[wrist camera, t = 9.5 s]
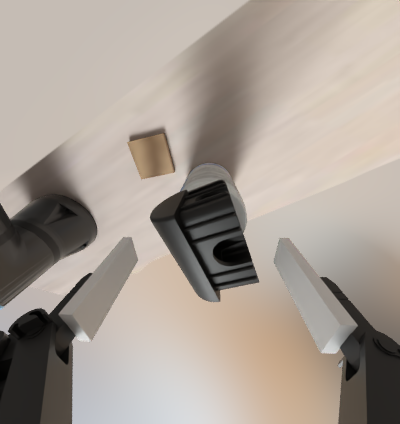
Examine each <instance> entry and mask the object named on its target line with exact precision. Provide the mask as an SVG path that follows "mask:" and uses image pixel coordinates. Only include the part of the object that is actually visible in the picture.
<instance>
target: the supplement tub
mask: <svg viewBox="0 0 400 424" xmlns="http://www.w3.org/2000/svg"><path fill="white" fill-rule="evenodd" d="M221 179H222V180H224V181H225V182H226V185H227V188H228V190H229V193H230V196H231V199H232V202H233V205H234V208H235V211H236V214H237V217H238V220H239V223H240V226H241V229H242V232H244V230H245V227H246V223H247V214H246V209H245V205H244V202H243V200H242V198H241V196H240V194H239V192H238V190H237V188H236V186H235V184H234V182H233V180H232V178H231V176H230V174H229V173H228V171H227V170H226V169H225V168H224V167H222V166H220V165H218V164H215V163H204V164H201V165H199V166H197V167H195V168H194V169H193V170H192V171H191V172H190V174H189V175H188V177H187V179H186V181H185V183H184V185H183V187H182V189H181V191H183V190H187V191H190V190H193V189H196V188H198V187H201V186H204V185H206V184H209V183H211V182H214V181H217V180H221ZM181 191H180V192H181Z"/></svg>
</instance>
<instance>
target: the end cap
mask: <svg viewBox="0 0 400 424" xmlns="http://www.w3.org/2000/svg"><path fill="white" fill-rule="evenodd" d="M150 219H151V222H152V223H153V225H154V226H155V228H156V230H157V231H158V233H159V234H160V236H161V238H162V239H163V241H164V242H165V244H166V246H167V247H168V249H169V250H170V252H171V254H172V255H173V257H174V258H175V260H176V262H177V263H178V265H179V266H180V268H181V270H182V271H183V273H184V274H185V276H186V277H187V279H188V281H189V282H190V284H191V285H192V287H193V289H194V290H195V292H196V293H197V294H198V296H199V297H201V298H202V299H204V300H206V301H210V302H220V290H223V289H228V288H233V287H238V286H243V285H248V284H253V283H258V282H259V280H258V277H257V274H256V271H255V268H254V265H253V263H252V259H251V256H250V253H249V250H248V247H247V244H246V240H245V238H244V235H243V232H242V229H241V226H240V223H239V220H238V217H237V214H236V211H235V208H234V205H233V202H232V199H231V196H230V193H229V190H228V188H227V185H226V182H225V181H224V180H222V179H221V180H217V181H214V182H211V183H209V184H206V185H204V186H201V187H198V188H196V189H193V190H190V191H187V190H183V191H181V192H179V193H177V194H175V195H173V196H171V197H169V198H168V199H166V200H164V201H163V202H162V203H160V204H159V205H158V206H157V207H156V208H155V209H154V210H153V211H152V213H151V215H150Z"/></svg>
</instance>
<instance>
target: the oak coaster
mask: <svg viewBox="0 0 400 424" xmlns="http://www.w3.org/2000/svg"><path fill="white" fill-rule="evenodd" d="M127 143H128V146H129V148H130V151H131V154H132V156H133V159H134V161H135V164H136V167H137V169H138V172H139V174H140V177H141V179H145V178H150V177H155V176H160V175H165V174H169V173H174V172H175V169H174V166H173V162H172V159H171V155H170V152H169V148H168V144H167V141H166V137H165V134H164V133H162V134H158V135H154V136H150V137H146V138H142V139H138V140H134V141H130V142H127Z"/></svg>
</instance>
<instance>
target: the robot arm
mask: <svg viewBox="0 0 400 424" xmlns="http://www.w3.org/2000/svg"><path fill="white" fill-rule="evenodd" d="M96 236H97V228H96V224H95V222H94V220H93V218H92V216H91V215H90V214H89V213H88V211H87V210H86V209H85V208H83V207H82V206H81V205H80V204H78V203H77V202H75V201H73V200H72V199H69V198H67V197H64V196H60V195H47V196H44V197H41V198H38V199H35V200H34V201H32V202H30V203H29V204H28V205H27V206H26V207H24V208H23V209H22V210H21V211H19V212H18V213H17V214H16V215H15V216H13V217H12V218H11V219H9V217H8V216H7V214H6V212H5V211H4V209H3V207H2V205H1V204H0V310H1V309H2V308H3V307H4V306H5V305H6V304H7V303H9V302H10V301H11V300H12V299H13V298H15V297H16V296H17V295H18V294H19V293H21V292H22V291H23V290H24V289H25V288H27V287H28V286H29V285H30V284H31V283H33V282H34V281H35V280H36V279H37V278H39V277H40V276H41V275H42V274H43V273H45V272H46V271H47V270H48V269H49V268H51V267H52V266H53V265H54V264H55V263H57V262H58V261H59V260H61V259H63V258H65V257H68V256H70V255H72V254H74V253H77V252H79V251H81V250H83V249H85V248H86V247H88V246H89V245H90V244H91V243H92V242H93V241H94V240H95V238H96ZM137 261H138V258H137V255H136V251H135V248H134V244H133V241H132V238H131V237H123V238H122V240H121V241H120V242H119V243H118V244H117V245H116V247H115V248H114V249H113V250H112V251H111V253H110V254H109V255H108V256H107V257H106V258H105V260H104V261H103V262H102V263H101V264H100V266H99V267H98V268H97V269H96V270H95V271H94V273H89V274H87V275H86V276H85V277H83V278H82V279H81V280H80V281H79V282H78V283H77V284H76V285H75V287H73V289H72V290H71V291H70V293H68V294H67V295H66V296H65V298H64V299H63V300H62V301H61V302H60V303H59V304H58V305H57V306H56V308H55V309H54V310H53V311H52V312H51V313H50V314H49V315H48V314H47V312H46V311H45V310H43V309H41V308H40V309H34V310H32V311H29V312H27V313H26V314H24V315H23V316H21V317H20V318H18V319H17V320H16V321H15V322H14V323H13V324H12V325H11V327H10V328H9V330H8V332H9V333H10V335H7V334H5V333H4V332H3V331H0V424H72V366H73V365H72V363H73V362H72V361H73V358H72V357H73V346H72V340H73V339H74V337H75V336H76V337H77V339H78V340H79V341H92V340H93V338H94V336H95V334H96V333H97V331H98V329H99V327H100V326H101V324H102V322H103V320H104V319H105V317H106V315H107V313H108V312H109V310H110V308H111V306H112V305H113V303H114V301H115V299H116V298H117V296H118V294H119V292H120V291H121V289H122V287H123V286H124V284H125V282H126V280H127V279H128V277H129V275H130V273H131V272H132V270H133V268H134V266H135V265H136V263H137ZM274 264H275V265H276V267H277V269H278V271H279V273H280V275H281V277H282V279H283V281H284V283H285V285H286V287H287V289H288V291H289V293H290V294H291V296H292V298H293V300H294V302H295V304H296V306H297V308H298V310H299V312H300V314H301V316H302V318H303V319H304V322H305V323H306V325H307V327H308V329H309V331H310V333H311V335H312V337H313V338H314V341H315V343H316V345H317V347H318V348H319V350H320V352H321V353H334V354H335V353H337V351H338V350H339V349H341V350H342V352H343V354H344V355H345V356H344V357H343V359H342V360H341V361H340V362H339V364H338V367H340V368H341V366H342V365H343V367H342V382H341V395H340V409H339V423H338V424H400V345H398V344H397V343H396V342H395V341H394V340H393V339H391V338H390V337H388V336H387V335H385V334H383V333H381V332H378V331H376V330H375V329H374V328H373V327H372V326H371V325H370V324H369V323H368V321H367V320H366V319H365V318H364V317H363V315H362V314H361V313H360V312H359V311H358V310H357V308H356V307H355V306H354V305H353V304H352V303H351V301H349V300H348V298H347V297H346V296H345V295H344V294H343V293H342V291H341V290H340V289H339V288H338V286H337V285H336V284H335V283H333V282H332V281H331V280H329V279H328V278H327V277H319V276H318V274H317V273H316V272H315V271H314V269H313V268H312V267H311V266H310V264H309V263H308V262H307V260H306V259H305V258H304V257H303V255H302V254H301V253H300V252H299V250H298V249H297V248H296V247H295V245H294V244H293V243H292V241H291V240H290V239H289V238H280V239H279V242H278V246H277V251H276V254H275V258H274Z"/></svg>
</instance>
